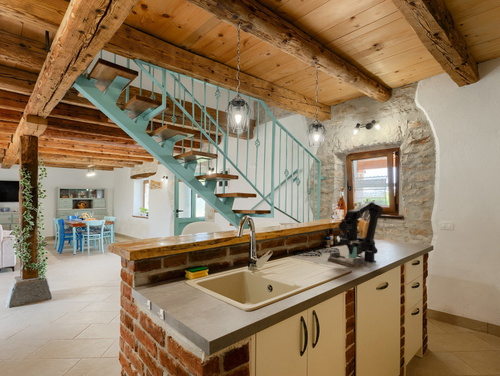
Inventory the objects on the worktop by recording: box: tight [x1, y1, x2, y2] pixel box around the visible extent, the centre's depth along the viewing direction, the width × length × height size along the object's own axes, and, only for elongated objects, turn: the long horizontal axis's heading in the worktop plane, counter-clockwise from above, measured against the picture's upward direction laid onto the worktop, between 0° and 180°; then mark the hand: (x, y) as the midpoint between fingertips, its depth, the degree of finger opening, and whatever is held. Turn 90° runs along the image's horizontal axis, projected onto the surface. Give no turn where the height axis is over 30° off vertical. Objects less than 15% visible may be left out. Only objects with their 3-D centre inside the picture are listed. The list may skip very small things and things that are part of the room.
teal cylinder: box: [345, 246, 360, 263], centre depth 183 cm, size 7×6×10 cm
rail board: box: [327, 251, 368, 269], centre depth 188 cm, size 12×22×5 cm, turn 29°
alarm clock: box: [357, 233, 364, 257], centre depth 210 cm, size 11×5×16 cm, turn 84°
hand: (352, 253), depth 183 cm, fingers closed on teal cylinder, 3 cm apart
